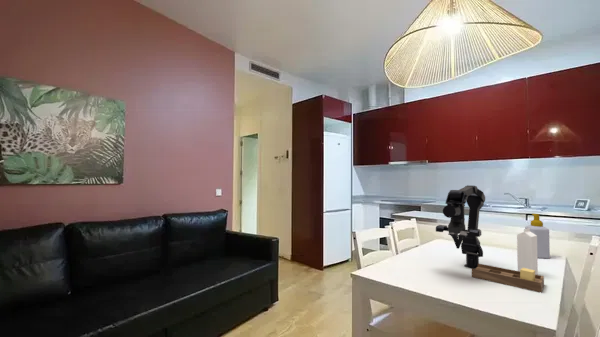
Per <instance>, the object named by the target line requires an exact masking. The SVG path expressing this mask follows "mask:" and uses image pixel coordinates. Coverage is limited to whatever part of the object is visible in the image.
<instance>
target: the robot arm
mask: <svg viewBox="0 0 600 337" xmlns="http://www.w3.org/2000/svg"><path fill="white" fill-rule="evenodd" d="M485 202H486V196H485V193H484V192H483V191H482V190H481V189H479V188H478V187H477V186H476V185H469V184H467V185H465V186H464V187H462V188H460V189H450V190H449V192H448V193H447V196H446V200H445V204H446V205H445V206H444V207H443V209H442V214H443V215H444V217H446V218H448V219H449V218H450V221H449V223H448V224H447V225H445V224H438V225H436V226H435V232H438V233H443V232H444V231H445V232H448V233H447V234H448V235H449V236H450V237H451V238H452V239H453V242H454V244H455V247H456V249H457V250H459V249H460V248H461V255H462V254H463V255H465V258H466V259H465V262H466V263H465V264H463V267H467V268H470V269H476V268H477V267H478V264H480V261H479V260H480V258H483V257H484V251H483V248H482V246H481V241H480V239H479V237H482V230H481V228H479V219H480V211H481V209H482V208H483V207H484V206H485V205H484V204H485ZM466 204H467V206H468V208H469V212H468V220H467V229H466V224H465V222H466V221H465V206H466Z"/></svg>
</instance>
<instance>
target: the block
mask: <svg viewBox="0 0 600 337" xmlns="http://www.w3.org/2000/svg"><path fill="white" fill-rule="evenodd" d="M520 279H525V280H530V281H535V270H531V269H527V268H522V269H520Z"/></svg>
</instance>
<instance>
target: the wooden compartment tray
mask: <svg viewBox="0 0 600 337" xmlns="http://www.w3.org/2000/svg"><path fill="white" fill-rule="evenodd" d="M471 278H475V279H479V280H484V281H488V282H493V283H496V284H499V285H500V284H501V285H506V286H509V287H515V288H518V289H523V290H527V291H533V292H536V293H540V292H541V293H543V292H542V291H543V288H544V286H545V276H544V275H541V274H538V275H536V274H535V281H530V280H525V279H520V271H518V270H514V269H509V268H503V267H498V266H492V265H488V264H483V263H479V264H478V267H477V268H476V269H475V268H471Z"/></svg>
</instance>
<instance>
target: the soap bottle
mask: <svg viewBox="0 0 600 337" xmlns="http://www.w3.org/2000/svg"><path fill="white" fill-rule="evenodd" d="M531 215H532V216H533V219H532V220H530V224H528V225H526V226H524V227H525V228H524V229H527V228H530V232H532V233H534V234H535V235H537V259H550V252H551V251H550V248H551V246H550V229H549V228H547V227H546V226H544V222H543V221H542V220H540V214H539V213H531Z"/></svg>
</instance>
